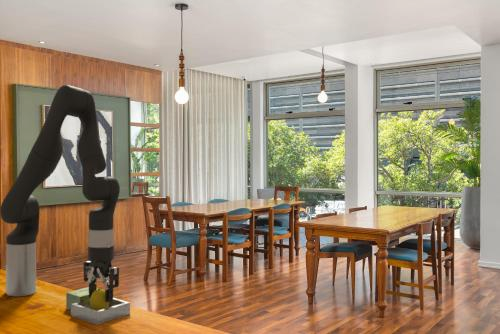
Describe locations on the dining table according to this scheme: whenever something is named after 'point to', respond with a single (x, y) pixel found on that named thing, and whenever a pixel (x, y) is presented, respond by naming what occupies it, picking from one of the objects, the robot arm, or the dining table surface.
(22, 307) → the dining table surface
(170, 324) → the dining table surface
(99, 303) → the lemon
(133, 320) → the dining table surface
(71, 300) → the square open box
